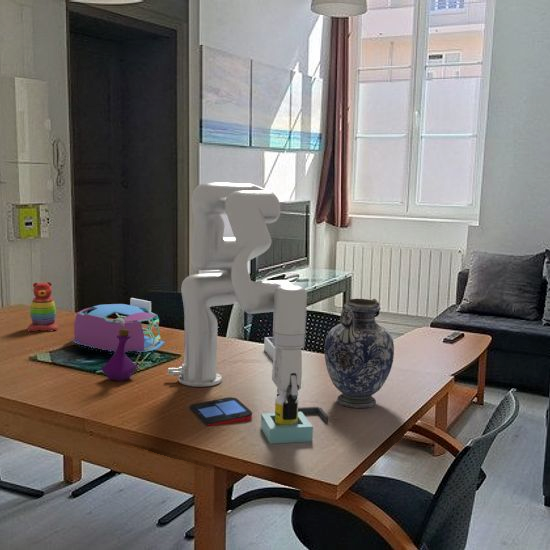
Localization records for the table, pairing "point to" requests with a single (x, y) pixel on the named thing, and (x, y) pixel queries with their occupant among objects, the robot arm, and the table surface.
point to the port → (286, 429)
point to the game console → (221, 411)
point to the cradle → (314, 410)
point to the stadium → (117, 327)
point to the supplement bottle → (279, 410)
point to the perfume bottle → (120, 358)
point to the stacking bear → (42, 308)
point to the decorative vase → (359, 354)
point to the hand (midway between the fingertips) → (286, 413)
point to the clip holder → (269, 346)
